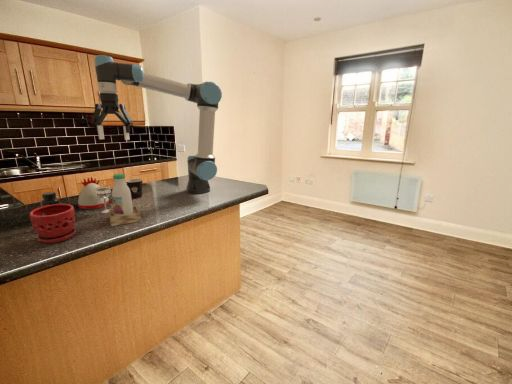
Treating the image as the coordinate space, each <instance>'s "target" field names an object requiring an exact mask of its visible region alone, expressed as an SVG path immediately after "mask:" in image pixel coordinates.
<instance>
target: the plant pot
mask: <svg viewBox="0 0 512 384" xmlns="http://www.w3.org/2000/svg"><path fill="white" fill-rule="evenodd" d="M55 210H56V211H57V212H56V213H54V211H55ZM43 213H46V215H45V216H43ZM50 213H51V214H52V215H49V214H50ZM29 219H30V222H31V225H32V228H33V229H34V231H35V233H37V236H38V237H37V239H38V241H39V242H41V243H45V244H55V243H59V242H65V241H66V240H68V239H70V238H72V237H73V236H74V235H75V234H76V230H77V229H75V226H76V225H75V223H76V213H75V207H74V206H73V205H72V204H68V203H60V204H53V205H47V206H43V207H41V206H40V207H37V208H35V209H33V210H31V211H30V212H29Z"/></svg>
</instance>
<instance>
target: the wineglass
mask: <svg viewBox="0 0 512 384" xmlns="http://www.w3.org/2000/svg"><path fill="white" fill-rule="evenodd" d="M95 190H96V191H95V194H96V196H98V197H99V198H102V199H104V204H105V206H104V209H103V210H101V211H100V213H101V214H106V213H107V214H109V210H110V209H108V208H107V205H106V200H105V199H106V198H107V197H108V198H109V197H110V196H112V189H111V186H109V185H108V186H107V185H105V186H100V187H97V188H95Z"/></svg>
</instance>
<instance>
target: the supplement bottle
mask: <svg viewBox="0 0 512 384" xmlns="http://www.w3.org/2000/svg"><path fill="white" fill-rule="evenodd" d="M41 196H42V199H41V200H40V207H43V206H47V205H53V204H61V201H60V199H59V198H58V197H57V194H56V192H55V191H50V192H49V191H48V192H43V193H42V194H41ZM56 212H57V211H56V210H55V211H54V213H56ZM45 215H46V213H43V214H42V216H45ZM49 215H52V214H51V213H50V214H49Z"/></svg>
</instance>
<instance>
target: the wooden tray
mask: <svg viewBox="0 0 512 384" xmlns="http://www.w3.org/2000/svg"><path fill="white" fill-rule="evenodd" d="M108 214H109V222H110V226H111V227H115V226H119V225H121V226H122V225H126V224H130V223H137V222H142V217H141V215H142V214H141V211H140V210H139V208H138V205H135V206H133V215H126V216H120V217H115V215H114V208H113V209H109V212H108Z"/></svg>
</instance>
